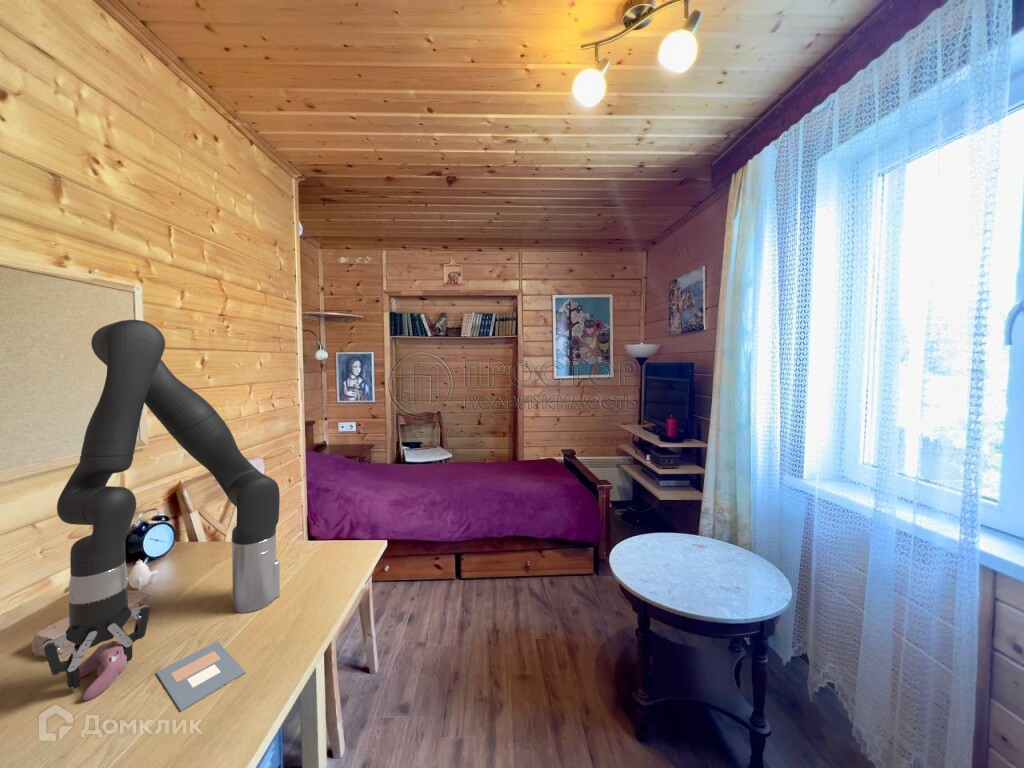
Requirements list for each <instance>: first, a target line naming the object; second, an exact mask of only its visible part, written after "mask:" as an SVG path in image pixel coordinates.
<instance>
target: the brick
mask: <svg viewBox="0 0 1024 768" xmlns="http://www.w3.org/2000/svg"><path fill="white" fill-rule="evenodd" d="M144 603H145V604H147V606H148V607H149V608H150V603H151V600H150V594H149V593H147V592H145V591H140V590H139V591H138V590H129V589H128V608H130V609H134V608H137V607H139V606H140V605H141V604H144ZM133 620H135V618H134V617H133V616H130V618H129V619H128V620H127V622H126V623H125V624H127V623H129V622H130V621H133ZM68 628H69V616H67V617H64V618H63V619H60V620H59V621H58V620H57V621H56V622H55V623H53V624H52V625H51V624H50V625H48V626H47V627H45V628H44V629H41V630H38V631H36V632H35V634H34V635H33V639H32V640H31V652H32V653H33V654H34V653H35V654H34V655H35V656H40V655H42V656H41V657H43V656H44V657H43V658H46V657H45V656H46V654H45V651H44V648H43V645H42V644H43V642H44V641H46V640H47V639H55V638H57V637H59V636H62V635H64V634H65V633H66V631H67V630H68ZM74 644H75V643H72V642H70V641H68V640H67V641H65V642H64V643H63V647H62V649H60V650H59V651H57V653H58V656H59V659H60V660H61V659H64V658H65V657H67V656H68V655H70V654H71V650H72V648H73V646H74Z"/></svg>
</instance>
